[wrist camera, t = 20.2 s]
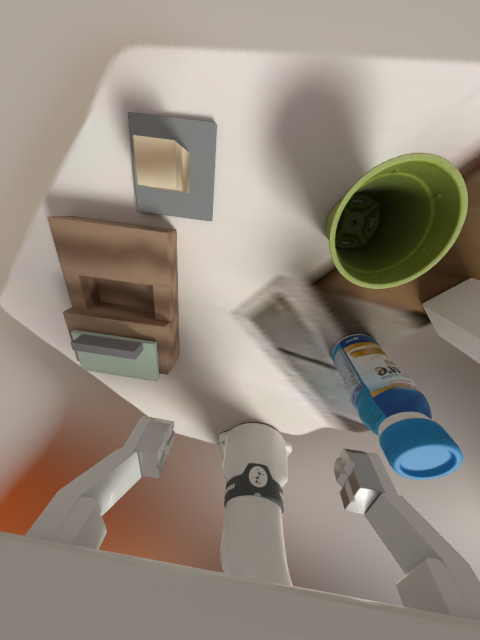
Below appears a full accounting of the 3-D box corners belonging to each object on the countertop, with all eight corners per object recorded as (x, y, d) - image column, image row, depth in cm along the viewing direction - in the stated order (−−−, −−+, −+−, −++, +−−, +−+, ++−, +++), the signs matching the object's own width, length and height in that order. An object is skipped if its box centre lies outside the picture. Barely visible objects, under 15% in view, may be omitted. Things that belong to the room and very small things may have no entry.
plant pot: (297, 201, 30) (315, 196, 20) (389, 154, 26) (467, 120, 16) (320, 277, 34) (345, 304, 24) (402, 245, 31) (469, 261, 21)
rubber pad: (212, 221, 32) (211, 221, 31) (140, 211, 32) (137, 211, 31) (216, 124, 26) (215, 122, 26) (131, 114, 27) (127, 111, 26)
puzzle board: (179, 354, 44) (167, 374, 38) (99, 342, 44) (77, 360, 39) (176, 230, 33) (159, 234, 27) (70, 216, 33) (33, 217, 28)
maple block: (189, 192, 29) (175, 189, 25) (157, 188, 30) (137, 184, 25) (189, 152, 27) (174, 140, 23) (155, 148, 28) (132, 135, 23)
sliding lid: (159, 378, 39) (151, 391, 36) (85, 366, 39) (71, 379, 36) (156, 341, 35) (147, 353, 32) (74, 329, 35) (57, 340, 32)
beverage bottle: (320, 353, 41) (366, 463, 23) (356, 323, 37) (442, 425, 19) (351, 375, 42) (415, 493, 25) (388, 348, 39) (494, 464, 21)
